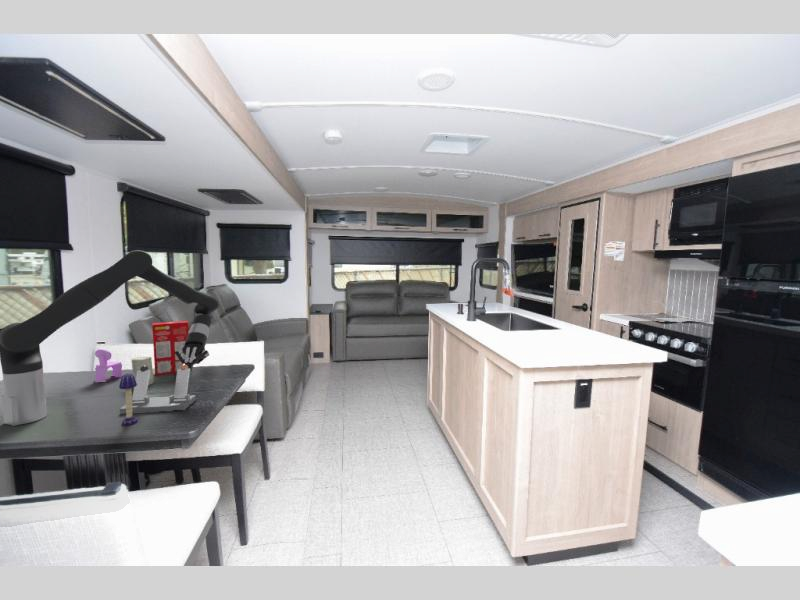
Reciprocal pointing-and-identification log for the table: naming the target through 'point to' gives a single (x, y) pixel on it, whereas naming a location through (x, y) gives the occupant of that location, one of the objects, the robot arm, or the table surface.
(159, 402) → the switch panel
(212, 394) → the table surface
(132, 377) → the toy lamp
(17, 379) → the robot arm
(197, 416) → the table surface
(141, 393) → the black knob lever
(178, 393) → the copper knob lever
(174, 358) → the food packaging
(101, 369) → the toy chair
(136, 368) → the skincare box
